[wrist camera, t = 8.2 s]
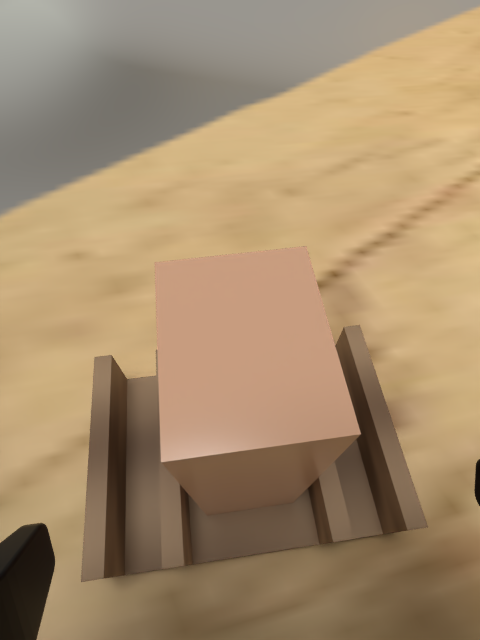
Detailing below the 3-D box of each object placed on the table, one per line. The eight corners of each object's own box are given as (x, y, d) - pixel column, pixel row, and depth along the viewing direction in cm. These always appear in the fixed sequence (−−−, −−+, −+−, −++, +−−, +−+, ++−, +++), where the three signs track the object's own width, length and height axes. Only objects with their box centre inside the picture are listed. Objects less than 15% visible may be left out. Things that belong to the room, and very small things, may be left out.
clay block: (293, 502, 18) (361, 434, 8) (207, 515, 18) (161, 462, 8) (273, 399, 21) (306, 246, 10) (198, 409, 20) (154, 262, 10)
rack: (394, 532, 18) (427, 527, 15) (111, 576, 17) (80, 582, 14) (342, 358, 23) (359, 325, 20) (116, 386, 22) (94, 357, 19)
